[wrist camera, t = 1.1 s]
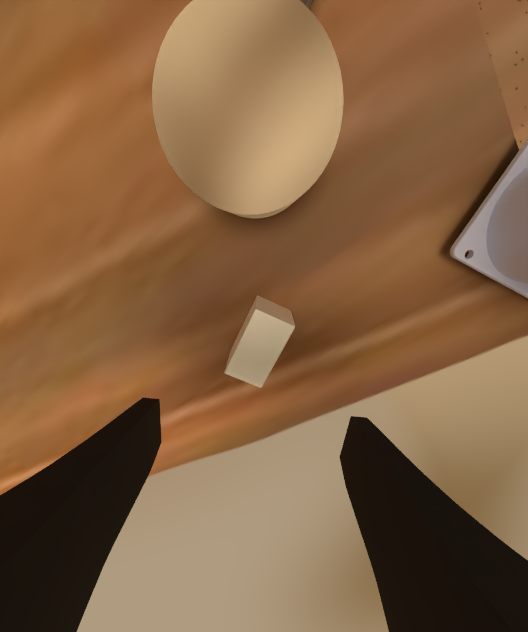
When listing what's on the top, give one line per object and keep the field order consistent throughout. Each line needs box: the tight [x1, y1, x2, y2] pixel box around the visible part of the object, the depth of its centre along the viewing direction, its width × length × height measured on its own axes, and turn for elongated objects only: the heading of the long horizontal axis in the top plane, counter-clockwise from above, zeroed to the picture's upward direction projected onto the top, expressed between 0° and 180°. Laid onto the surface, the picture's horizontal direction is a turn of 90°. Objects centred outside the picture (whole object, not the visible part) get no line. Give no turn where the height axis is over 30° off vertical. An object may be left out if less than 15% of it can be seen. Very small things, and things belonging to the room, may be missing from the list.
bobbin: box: [152, 0, 343, 219], centre depth 12 cm, size 7×7×6 cm
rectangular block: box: [225, 295, 295, 388], centre depth 17 cm, size 3×5×3 cm, turn 155°
